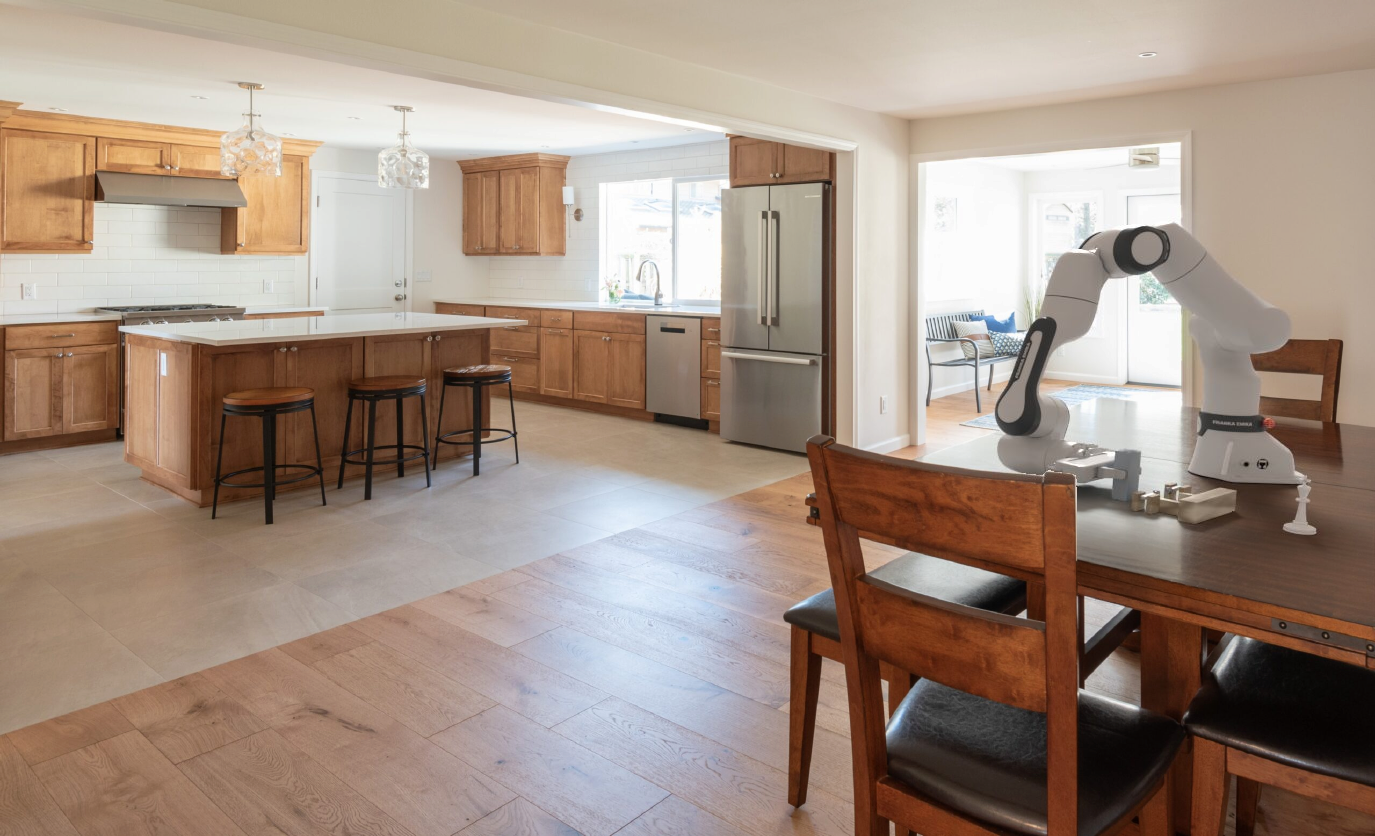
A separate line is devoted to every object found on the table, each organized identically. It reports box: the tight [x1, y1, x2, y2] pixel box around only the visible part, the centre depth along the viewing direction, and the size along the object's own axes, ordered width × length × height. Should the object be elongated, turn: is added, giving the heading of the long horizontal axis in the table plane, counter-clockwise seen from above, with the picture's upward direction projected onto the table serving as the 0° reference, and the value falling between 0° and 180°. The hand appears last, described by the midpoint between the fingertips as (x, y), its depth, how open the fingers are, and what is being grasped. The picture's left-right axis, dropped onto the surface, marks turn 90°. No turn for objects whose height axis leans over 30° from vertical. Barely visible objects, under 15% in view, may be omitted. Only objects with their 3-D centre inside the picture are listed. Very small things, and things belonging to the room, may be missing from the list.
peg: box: [1111, 447, 1142, 503], centre depth 178 cm, size 4×4×10 cm
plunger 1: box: [1141, 489, 1161, 501], centre depth 170 cm, size 1×6×1 cm, turn 126°
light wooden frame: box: [1130, 481, 1238, 525], centre depth 170 cm, size 12×16×4 cm
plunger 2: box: [1164, 485, 1182, 494], centre depth 175 cm, size 1×6×1 cm, turn 126°
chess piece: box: [1282, 475, 1317, 536], centre depth 155 cm, size 5×5×10 cm
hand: (1132, 473), depth 177 cm, fingers closed on peg, 4 cm apart
